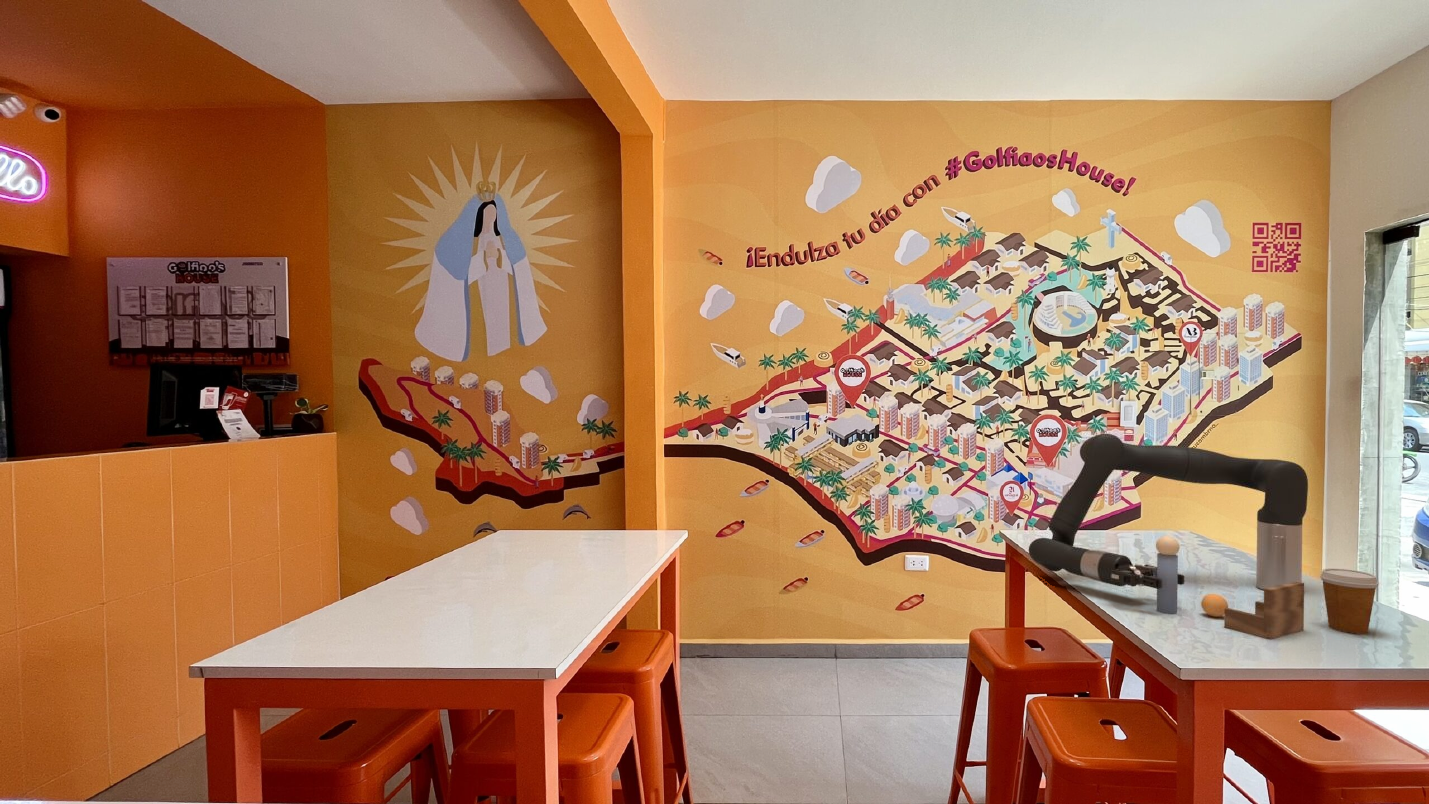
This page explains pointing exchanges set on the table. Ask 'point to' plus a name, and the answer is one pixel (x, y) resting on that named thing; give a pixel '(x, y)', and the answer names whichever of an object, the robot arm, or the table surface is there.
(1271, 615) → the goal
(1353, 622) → the disposable coffee cup
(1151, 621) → the table surface
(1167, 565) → the player figure
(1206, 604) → the ball
